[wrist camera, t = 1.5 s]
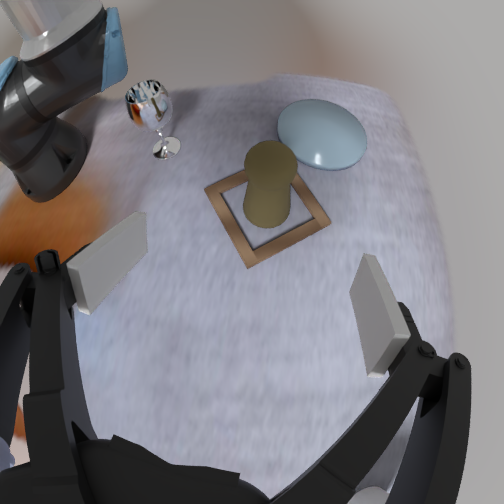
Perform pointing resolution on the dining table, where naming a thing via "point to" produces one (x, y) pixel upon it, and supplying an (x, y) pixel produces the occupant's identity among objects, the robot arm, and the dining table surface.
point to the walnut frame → (278, 244)
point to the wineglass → (152, 114)
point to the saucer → (322, 134)
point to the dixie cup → (370, 496)
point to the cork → (269, 183)
